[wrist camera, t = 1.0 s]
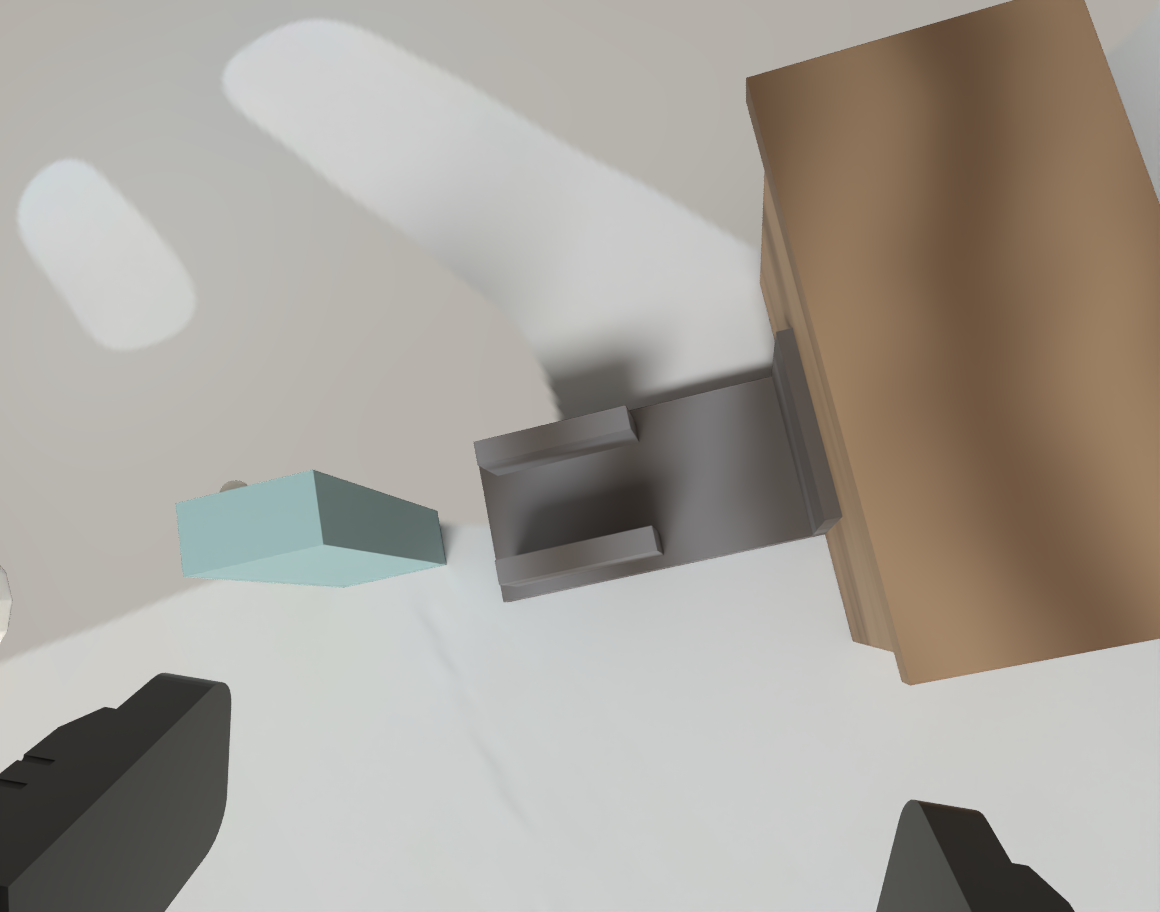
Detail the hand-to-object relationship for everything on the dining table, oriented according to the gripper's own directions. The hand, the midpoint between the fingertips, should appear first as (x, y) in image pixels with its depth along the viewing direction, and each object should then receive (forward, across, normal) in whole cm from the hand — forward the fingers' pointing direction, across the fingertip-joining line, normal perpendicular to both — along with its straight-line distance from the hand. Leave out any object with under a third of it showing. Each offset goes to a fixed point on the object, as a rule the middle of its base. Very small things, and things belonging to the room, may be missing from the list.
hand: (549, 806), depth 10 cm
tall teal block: (+29, +10, +8) cm, 31 cm away
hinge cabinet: (+29, -5, +2) cm, 29 cm away
